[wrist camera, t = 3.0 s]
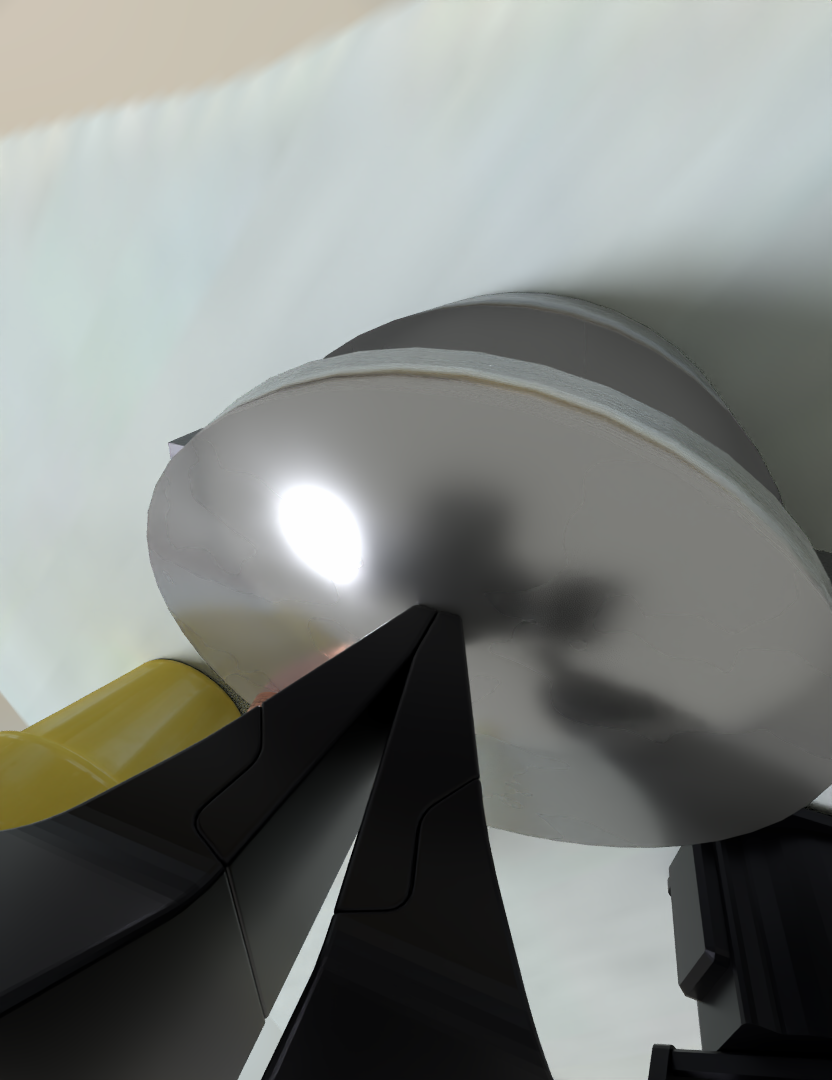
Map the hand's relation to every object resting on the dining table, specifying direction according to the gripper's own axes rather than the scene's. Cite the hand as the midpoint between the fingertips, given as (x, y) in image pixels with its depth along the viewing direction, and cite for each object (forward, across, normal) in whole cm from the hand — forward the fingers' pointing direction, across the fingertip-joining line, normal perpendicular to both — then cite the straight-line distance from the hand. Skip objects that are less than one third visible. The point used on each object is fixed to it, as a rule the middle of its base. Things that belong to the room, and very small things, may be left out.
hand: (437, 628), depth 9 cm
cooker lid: (+2, 0, +2) cm, 3 cm away
